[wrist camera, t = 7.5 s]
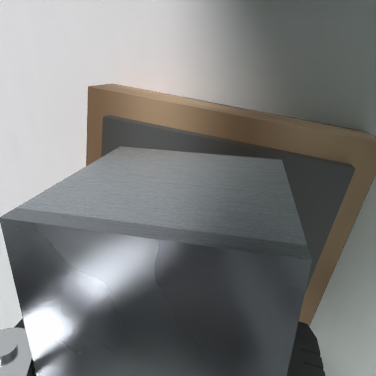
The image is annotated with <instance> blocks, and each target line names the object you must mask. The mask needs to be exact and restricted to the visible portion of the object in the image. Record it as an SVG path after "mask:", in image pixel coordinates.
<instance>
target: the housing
mask: <svg viewBox="0 0 376 376" xmlns="http://www.w3.org/2000/svg"><path fill="white" fill-rule="evenodd" d="M0 223H1V227H2V231H3V236H4V240H5V244H6V248H7V253H8V257H9V261H10V265H11V270H12V274H13V278H14V282H15V286H16V291H17V295H18V299H19V303H20V308H21V312H22V316H23V320H24V324H25V329H26V333H27V337H28V341H29V346H30V350H31V354H32V358H33V363H34V367H35V371H36V375H37V376H287V371H288V367H289V362H290V358H291V353H292V349H293V344H294V340H295V335H296V331H297V326H298V322H299V317H300V313H301V308H302V304H303V299H304V295H305V290H306V286H307V281H308V277H309V272H310V268H311V263H312V259H311V255H310V252H309V249H308V245H307V242H306V239H305V235H304V232H303V229H302V225H301V222H300V219H299V215H298V212H297V209H296V205H295V202H294V199H293V195H292V192H291V189H290V185H289V182H288V179H287V175H286V172H285V169H284V165H283V162H282V160H278V159H266V158H254V157H242V156H229V155H217V154H205V153H193V152H181V151H169V150H156V149H144V148H132V147H118V148H117V149H115V150H113V151H112V152H110V153H108V154H107V155H105V156H103V157H102V158H100V159H98V160H96V161H95V162H93V163H91V164H90V165H88V166H86V167H85V168H83V169H81V170H79V171H78V172H76V173H74V174H73V175H71V176H69V177H68V178H66V179H64V180H63V181H61V182H59V183H57V184H56V185H54V186H52V187H51V188H49V189H47V190H46V191H44V192H42V193H40V194H39V195H37V196H35V197H34V198H32V199H30V200H29V201H27V202H25V203H24V204H22V205H20V206H18V207H17V208H15V209H13V210H12V211H10V212H8V213H7V214H5V215H3V216H1V217H0Z"/></svg>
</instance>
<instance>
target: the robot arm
mask: <svg viewBox="0 0 376 376" xmlns="http://www.w3.org/2000/svg"><path fill="white" fill-rule="evenodd" d="M0 376H37V375H36V371H35V367H34V363H33V358H32V354H31V350H30V346H29V341H28V337H27V333H26V329H25V324H24V320H23V319H22V320H21V321H20V322H19V323H18V324H17V325H16V326H15V327H14V328H7V329H3V330H0ZM287 376H325V372H324V371H323V363H322V359H321V357H320V351H319V346H318V342H317V338H316V337H315V335H314V334H313V332H312V331H311V329H310V327H309V326H308V324H307V323H303V322H298V326H297V331H296V335H295V340H294V344H293V349H292V353H291V358H290V362H289V367H288V371H287Z"/></svg>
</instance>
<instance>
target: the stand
mask: <svg viewBox="0 0 376 376" xmlns="http://www.w3.org/2000/svg"><path fill="white" fill-rule="evenodd" d="M118 147H132V148H144V149H156V150H169V151H181V152H193V153H205V154H217V155H229V156H242V157H254V158H266V159H278V160H282V162H283V165H284V169H285V172H286V175H287V179H288V182H289V185H290V189H291V192H292V195H293V199H294V202H295V205H296V209H297V212H298V215H299V219H300V222H301V225H302V229H303V232H304V235H305V239H306V242H307V245H308V249H309V252H310V255H311V259H312V263H311V268H310V272H309V277H308V281H307V286H306V290H305V295H304V299H303V304H302V308H301V313H300V317H299V322H303V323H307V324H308V326H310V323H311V321H312V319H313V316H314V314H315V312H316V310H317V307H318V305H319V303H320V300H321V298H322V296H323V293H324V291H325V289H326V287H327V284H328V282H329V280H330V277H331V275H332V273H333V271H334V268H335V266H336V264H337V261H338V259H339V257H340V255H341V252H342V250H343V248H344V245H345V243H346V241H347V239H348V236H349V234H350V232H351V229H352V227H353V225H354V223H355V220H356V218H357V216H358V213H359V211H360V209H361V207H362V204H363V202H364V200H365V197H366V195H367V193H368V191H369V188H370V186H371V184H372V181H373V179H374V177H375V175H376V137H374V136H373V135H371V134H369V133H367V132H364V131H358V130H353V129H348V128H343V127H337V126H332V125H327V124H322V123H316V122H311V121H306V120H301V119H295V118H290V117H285V116H279V115H274V114H269V113H264V112H258V111H253V110H248V109H243V108H237V107H232V106H227V105H222V104H216V103H211V102H206V101H201V100H195V99H190V98H185V97H180V96H174V95H169V94H164V93H158V92H153V91H148V90H143V89H137V88H132V87H127V86H122V85H116V84H106V85H97V86H88V114H87V156H86V166H88V165H90V164H91V163H93V162H95V161H96V160H98V159H100V158H102V157H103V156H105V155H107V154H108V153H110V152H112V151H113V150H115V149H117V148H118Z"/></svg>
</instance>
